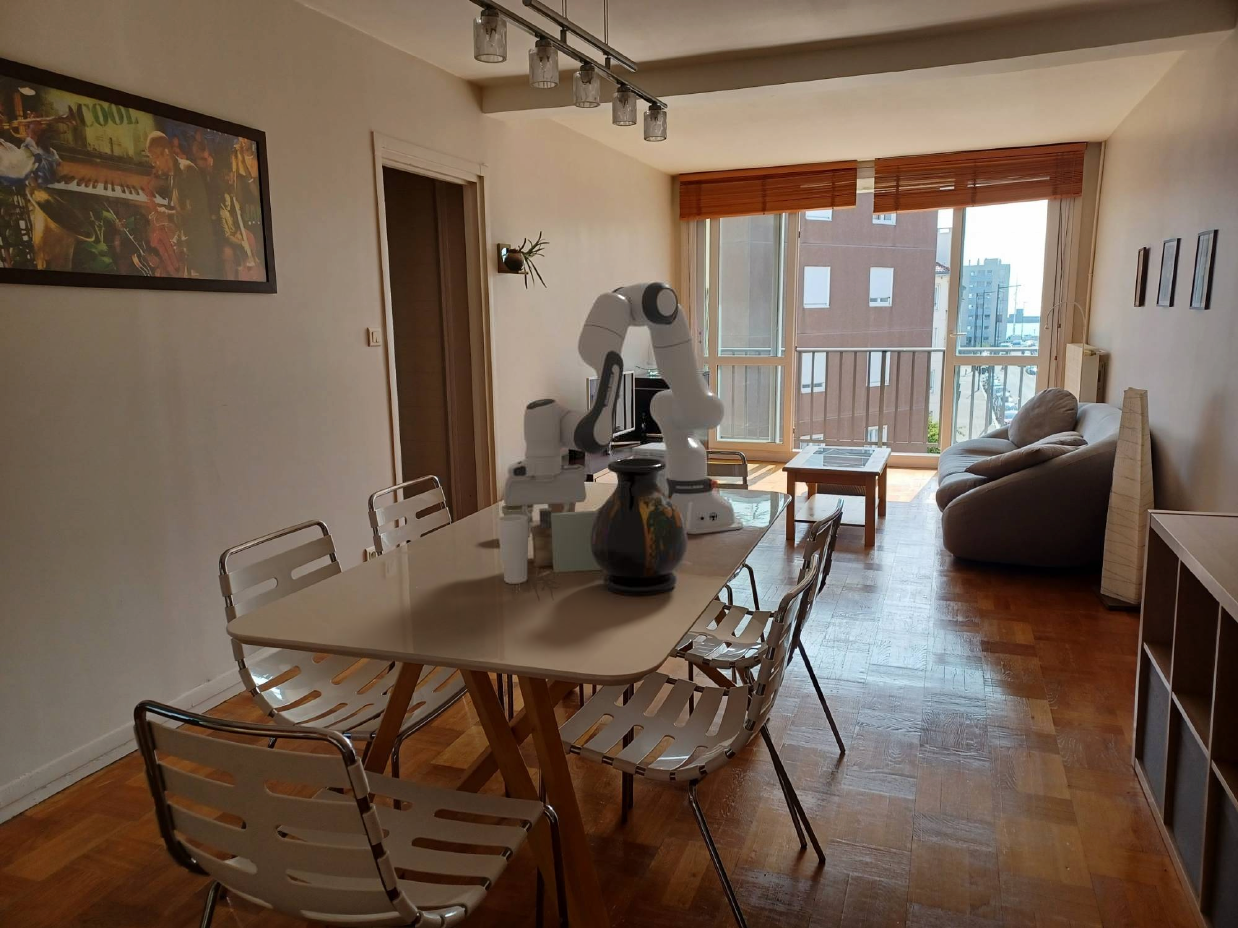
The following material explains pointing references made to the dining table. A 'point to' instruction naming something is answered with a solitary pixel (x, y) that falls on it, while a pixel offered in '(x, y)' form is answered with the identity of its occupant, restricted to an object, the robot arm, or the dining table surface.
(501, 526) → the drinking glass
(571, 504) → the coffee cup
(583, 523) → the board
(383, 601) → the dining table surface
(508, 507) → the flower pot
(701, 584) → the dining table surface
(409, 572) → the dining table surface
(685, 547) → the amphora vase
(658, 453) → the supplement box
